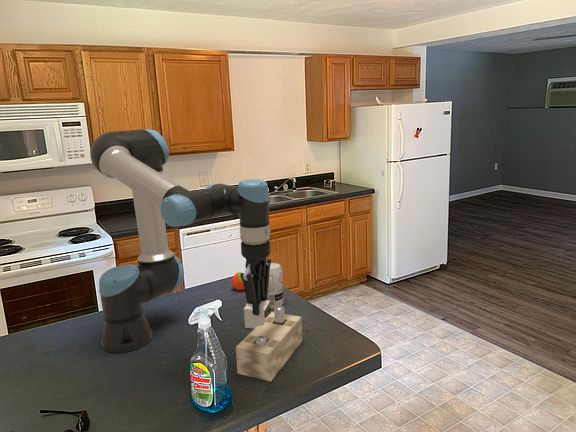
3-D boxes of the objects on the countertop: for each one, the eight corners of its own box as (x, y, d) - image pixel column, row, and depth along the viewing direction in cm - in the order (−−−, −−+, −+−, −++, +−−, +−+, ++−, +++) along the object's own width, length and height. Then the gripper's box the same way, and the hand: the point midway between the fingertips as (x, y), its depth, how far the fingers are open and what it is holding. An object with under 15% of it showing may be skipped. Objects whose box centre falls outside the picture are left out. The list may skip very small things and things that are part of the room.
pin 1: (254, 365, 118) (253, 340, 116) (260, 359, 120) (258, 334, 118) (264, 367, 116) (263, 342, 115) (269, 361, 119) (268, 336, 117)
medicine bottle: (265, 329, 139) (264, 295, 136) (244, 328, 141) (242, 294, 138) (271, 319, 146) (269, 286, 143) (250, 318, 147) (248, 285, 145)
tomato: (250, 293, 168) (249, 276, 167) (232, 294, 167) (231, 277, 166) (249, 285, 176) (248, 268, 174) (232, 286, 175) (230, 270, 174)
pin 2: (273, 332, 127) (272, 308, 126) (277, 327, 130) (276, 304, 128) (282, 334, 126) (281, 310, 124) (286, 329, 129) (285, 306, 127)
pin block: (237, 373, 116) (235, 346, 114) (273, 335, 136) (272, 311, 134) (270, 381, 112) (269, 354, 110) (302, 340, 132) (301, 316, 130)
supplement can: (258, 301, 160) (256, 263, 156) (280, 298, 162) (278, 260, 159) (264, 311, 152) (262, 271, 149) (286, 307, 155) (284, 268, 151)
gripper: (256, 249, 103) (259, 338, 109) (279, 234, 114) (281, 315, 120) (229, 246, 106) (234, 332, 112) (254, 232, 117) (257, 311, 123)
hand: (258, 323), depth 116 cm, fingers closed
